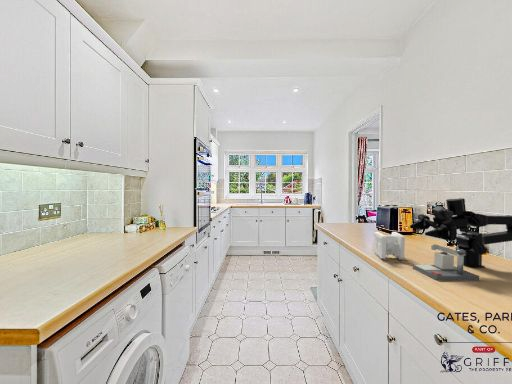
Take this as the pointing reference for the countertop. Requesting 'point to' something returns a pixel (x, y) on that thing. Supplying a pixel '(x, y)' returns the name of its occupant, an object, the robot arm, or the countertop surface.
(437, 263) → the light grey block
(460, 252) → the grey bracket
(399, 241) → the cable organizer
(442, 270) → the grey flat panel
